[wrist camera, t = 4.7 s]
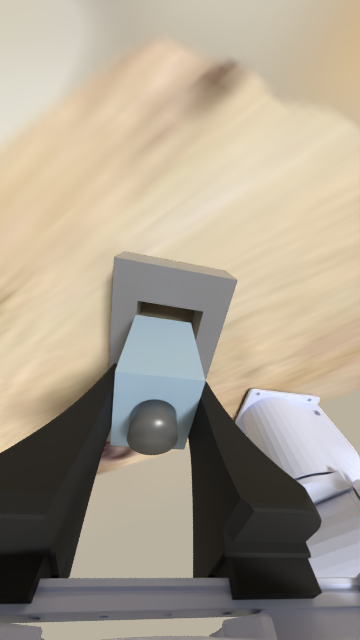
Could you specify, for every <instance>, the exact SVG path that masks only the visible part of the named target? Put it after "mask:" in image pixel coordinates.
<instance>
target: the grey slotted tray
mask: <svg viewBox="0 0 360 640" xmlns="http://www.w3.org/2000/svg"><path fill="white" fill-rule="evenodd" d="M236 283H237V279H235V278H234V277H233V276H231V275H230V274H229V273H228V272H226V271H224V270H218V269H213V268H208V267H203V266H198V265H192V264H187V263H182V262H177V261H172V260H166V259H161V258H156V257H151V256H146V255H140V254H135V253H130V252H123V253H121V254H119V255H117V256H115V257H114V268H113V289H112V309H111V330H110V351H109V369H110V367H111V366H112V365H113V364H114V363H116V364H118V362H119V359H120V357H121V354H122V351H123V348H124V346H125V343H126V340H127V337H128V335H129V332H130V329H131V326H132V324H133V321H134V318H135V315H140V313H141V304H142V302H148V303H154V304H160V305H166V306H173V307H179V308H185V309H191V310H195V311H194V315H193V320H192V324H191V325H192V329H193V333H194V337H195V341H196V345H197V349H198V353H199V357H200V361H201V365H202V369H203V373H204V376H205V380H206V377H207V374H208V371H209V368H210V365H211V362H212V359H213V355H214V352H215V349H216V346H217V343H218V340H219V337H220V334H221V330H222V327H223V324H224V321H225V318H226V315H227V312H228V308H229V305H230V302H231V299H232V296H233V293H234V290H235V287H236ZM107 441H110V442H111V430H110V433H109V435H108V438H107Z"/></svg>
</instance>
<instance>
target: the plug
mask: <svg viewBox="0 0 360 640" xmlns="http://www.w3.org/2000/svg"><path fill="white" fill-rule="evenodd" d="M205 381H206V380H205V376H204V373H203V369H202V365H201V361H200V357H199V353H198V349H197V345H196V341H195V337H194V333H193V329H192V325H191V323H188V322H182V321H175V320H168V319H161V318H154V317H147V316H141V315H135V318H134V321H133V324H132V326H131V329H130V332H129V335H128V337H127V340H126V343H125V346H124V348H123V351H122V354H121V357H120V359H119V362H118V365H117V367H116V370H115V381H114V396H113V412H112V427H111V443H110V445H113V446H130V448H131V449H133V450H134V451H136V452H138V453H141V454H145V455H158V454H162V453H165V452H168V451H169V450H171V449H184V448H185V445H186V442H187V438H188V435H189V432H190V429H191V426H192V423H193V419H194V416H195V413H196V410H197V407H198V404H199V400H200V397H201V394H202V391H203V388H204V385H205Z"/></svg>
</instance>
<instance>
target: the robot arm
mask: <svg viewBox="0 0 360 640" xmlns="http://www.w3.org/2000/svg"><path fill="white" fill-rule="evenodd" d="M117 365H118V364H116V363H114V364H113V365H112V366H111V367H110V369H109V370H108V371H107V372H106V373H105V374H104V375H103V376H102V378H101V379H100V380H99V381H98V382H97V383H96V384H95V385H94V386H93V387H92V388H91V389H90V390H89V391H87V392H86V393H85V394H84V395H83V396H82V397H81V398H80V399H79V400H78V401H76V402H75V403H74V404H73V405H72V406H70V407H69V408H68V409H67V410H65V411H64V412H63V413H61V414H60V415H59V416H57V417H56V418H55V419H53V420H52V421H51V422H49V423H48V424H46V425H45V426H43V427H42V428H40V429H39V430H37V431H36V432H34V433H33V434H31V435H30V436H28V437H26V438H25V439H23V440H22V441H20V442H18V443H17V444H15V445H14V446H12V447H10V448H8V449H7V450H5V451H3V452H1V453H0V640H44V639H42V638H41V634H42V630H41V627H36V626H28V625H19V624H11V623H30V622H64V621H65V622H67V621H98V620H99V621H100V620H135V619H172V618H205V617H206V618H207V617H238V618H233V619H228V620H224V622H223V624H222V628H221V629H219V630H218V631H217V632H215V633H213V634H211V635H209V637H202V636H154V637H132V638H117V639H104V640H360V458H359V456H358V454H357V452H356V451H355V449H354V448H353V447H352V445H351V444H350V443H349V442H348V441H347V440H346V439H345V437H344V436H343V435H342V433H341V432H340V431H339V430H338V429H337V427H336V426H335V425H334V424H333V423H332V422H331V420H330V419H329V418H328V417H327V416H326V414H325V413H324V412H323V411H322V410H321V408H320V407H319V406H318V405H317V404H318V403H319V401H320V398H319V397H318V396H313V395H304V394H296V393H287V392H278V391H270V390H261V389H250V390H249V392H248V394H247V396H246V399H245V401H244V403H243V405H242V407H241V410H240V412H239V414H238V416H237V418H236V421H235V422H234V421H233V420H232V419H231V417H230V416H229V415H228V413H227V412H226V411H225V409H224V408H223V406H222V405H221V404H220V402H219V401H218V399H217V398H216V396H215V395H214V393H213V392H212V390H211V388H210V387H209V385H208V383H207V382H206V381H205V385H204V388H203V391H202V394H201V397H200V400H199V404H198V407H197V410H196V413H195V416H194V419H193V423H192V426H191V429H190V432H189V435H188V438H189V446H190V454H191V466H192V493H193V494H192V495H193V578H77V579H76V578H68V577H69V576H70V572H71V568H72V564H73V560H74V556H75V552H76V548H77V544H78V541H79V537H80V533H81V529H82V525H83V521H84V517H85V513H86V510H87V506H88V502H89V498H90V495H91V491H92V487H93V484H94V479H95V476H96V473H97V469H98V466H99V462H100V458H101V455H102V452H103V449H104V446H105V443H106V441H107V438H108V435H109V433H110V430H111V427H112V412H113V396H114V381H115V370H116V367H117ZM246 435H247V436H246ZM242 616H243V617H242Z"/></svg>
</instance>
